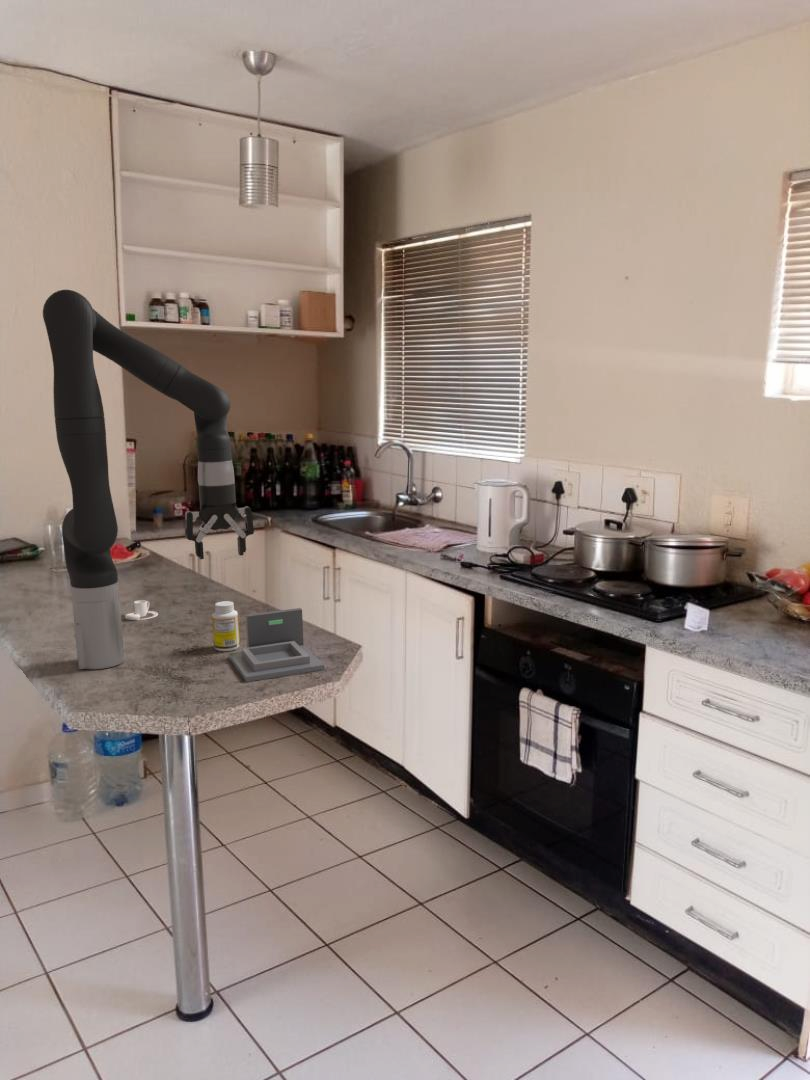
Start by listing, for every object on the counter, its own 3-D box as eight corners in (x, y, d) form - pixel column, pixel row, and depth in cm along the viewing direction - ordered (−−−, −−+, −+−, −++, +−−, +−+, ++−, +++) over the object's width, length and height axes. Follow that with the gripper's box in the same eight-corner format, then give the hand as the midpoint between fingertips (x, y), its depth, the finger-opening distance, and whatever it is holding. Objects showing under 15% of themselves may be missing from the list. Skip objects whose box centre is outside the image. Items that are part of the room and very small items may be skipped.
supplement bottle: (224, 643, 189) (221, 599, 187) (244, 645, 187) (242, 601, 185) (208, 650, 184) (205, 605, 182) (229, 653, 182) (227, 607, 180)
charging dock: (246, 682, 164) (243, 637, 163) (229, 658, 179) (226, 617, 177) (324, 669, 170) (322, 626, 169) (301, 647, 185) (300, 607, 183)
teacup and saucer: (129, 624, 207) (128, 608, 206) (117, 617, 213) (115, 602, 212) (163, 617, 212) (162, 601, 211) (150, 611, 218) (149, 596, 217)
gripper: (185, 486, 172) (190, 563, 175) (253, 481, 178) (258, 556, 181) (179, 482, 179) (185, 557, 182) (245, 478, 185) (250, 550, 188)
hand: (221, 556), depth 182 cm, fingers open, 8 cm apart
